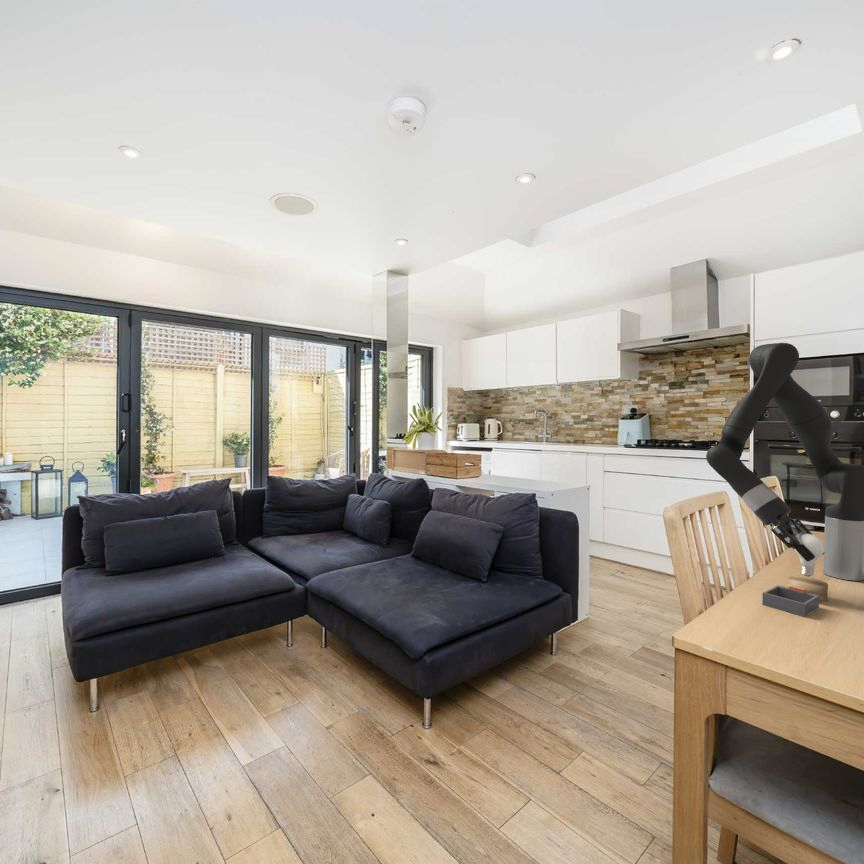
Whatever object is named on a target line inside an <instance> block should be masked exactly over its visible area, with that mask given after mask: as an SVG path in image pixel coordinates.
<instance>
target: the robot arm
mask: <svg viewBox="0 0 864 864" xmlns="http://www.w3.org/2000/svg"><path fill="white" fill-rule="evenodd" d="M799 360H800V353H799V349H797V348H796V346H795V345H794V344H791V343H788V342H776V343H775V342H773V343H765V344H761V345H757V346H756V347H754V348H753V349H752V350H751V352H750V354H749V356H748V362H749V366H750V368H751V370H752V372H753V373H754V375H755V376H756V377H757V381H756V382H755V384H754V385H753V386H752V388H751V389H750V390H749V391H748V392H747V394H745V396H744V397H742V399H741V400H739V402H738V403H737V404H736V405H735V407H734V408H732V410H731V412H730V413H729V415H728V418H727V419H726V421H725V423H724V425H723V427H722V430H721V438H720V440H719V442H718V444H717V445H713V446H711V447H710V448H709V449H708V450H707V452H706V455H705V458H706V462H707V463H708V465H709V466H710V467H711V468H712V469H713V470H714V471H715V472H716V473H717V474H718V475H719V476H720V477H721V478H722V479H724V480H725V482H726V483H728V484H729V486H730V487H731V489H732V490H733V491H734V492H735V493H736V494H737V495H738V496H739V497H740V498H741V499H742V501H743V502H744V503H745V505H746V506H747V507H748V508H749V509H750V511H751V512H752V513H753V514H754V515H755V516H756V517H757V518H758V519H759V520H760V521H761V522H762V523H763V524H764V525H765V526H770V525H773V527H772V528H770V531H771V533H773V534H774V535H775V536H776V537H777V538H778V539H779V540H780V541H781V542H782V543H783V544H784V545H785V546H786V547H787V548H788V549H792V550H794V551H795V550H796V551H797V552H798V553H799V554H800V555H801V556H802V557H803V558H804V559H805V560H806V561H811V560H812V559H814V558H815V555H814V554H813V553H812V552H811V551H810V550H809V549H808V548H807V547H806V546H805V545H803V543H802V541H801V540H800V538H799V537H800V535H802V534H812V535H814V534H813V533H812V532H811V531H810V530H809V529H808V527H806V525H804V523H803V522H802V521H801V520H800V519H799V518H795V519H793V518H792V517H791V516H789V515H788V514H790V513H791V512H792V508H791V507H790V506H789V505H788V504H787V503H786V502H785V501H784V500H783V499H782V498H781V497H780V496H779V495H778V494H777V493H776V492H775V491H774V489H772V488H771V487H770V486H768V485H767V484H766V483H765V482H764V481H763V480H762V479H761V478H760V477H759V476H758V475H757V474H756V473H755V472H753V471H752V470H751V469H749V467H747V466H746V465H745V463H744V462H743V461H742V460H741V457H742V455H743V451H744V449H745V447H746V444H747V441H748V439H749V438H750V436H751V434H752V433H753V431H754V429H755V427H756V425H757V423H758V421H759V419H760V418H761V416H762V414H763V412H764V411H765V410H766V408H767V406H768V405H769V404H770V402H771V401H772V400H774V402H775V404H776V405H777V407H778V408H779V410H780V412H781V414H782V415H783V417H784V418H785V420H786V423H787V424H788V426H789V427H790V429H791V430H792V432H793V434H794V436H795V437H796V438H797V440H798V442H799V444H801V447H802V449H803V450H804V452H805V453H806V455H807V458H808V460H809V462H810V463H811V466H812V468H813V471H814V473H815V474H816V477H817V479H818V481H819V483H820V485H822V487H823V488H824V489H825V490H826V491H828V492H831V493H834V494H839V495H840V497H839V502H837V503H836V504H830V505H828V506H826V507H825V510H824V511H825V513H824V514H825V515H824V534H823V535H824V536H823V543H824V546H825V550H824V553H823V554H822V556H823V559H822V573H823V574H824V575H827V576H829V577H833V578H836V579H841V580H847V581H864V465H862V464H855V463H846V462H842V461H841V460H840V459H839V457H838V456H837V455H836V453H835V451H834V449H833V448H832V445H831V443H832V436H833V429H834V428H833V427H834V426H833V422H832V420H831V418H830V416H829V414H828V413H827V411H826V409H825V408H824V407H823V405H822V404H821V402H819V400H818V399H816V397H815V396H813V395H812V394H811V393H809V392H808V391H807V390H806V389H805V388H804V387H802V386H801V385H800V384H799V383H798V382H797V381H795V380H794V378H793V377H792V375H791V374H792V373H793V372H794V370H795V369H796V367H797V365H798V363H799ZM796 551H795V552H796Z"/></svg>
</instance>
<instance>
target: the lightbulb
mask: <svg viewBox="0 0 864 864" xmlns="http://www.w3.org/2000/svg"><path fill="white" fill-rule="evenodd" d="M812 534H813V533H812ZM812 534H802V535H800V537H799V538H800V540H801V541H802V543H803V545H805V546H806V547H807V548H808V549H809V550H810V551H811V552H812V553H813V554H814V555H815V558H814V559H812V560H811V561H806V560H805V559H804V558H803V557H802V556H801V555H800V554H799V553H798V552H797V551H796V550H795V549H794V551H795V554H797V556H798V558H799V562H800V573H801V574H802V575H803V576H804V577H809V578H810V577H812V576H814V575H815V566H816V565H817V563H818V562H817V561H818V560H819V558H821V557H822V556H823V555H824V554H823V553H824V550H825V546H824V541H823V540H822V539H821V538H820V537H818V536H816V535H814V534H813V535H812ZM822 554H823V555H822Z"/></svg>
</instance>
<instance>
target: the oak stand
mask: <svg viewBox="0 0 864 864" xmlns="http://www.w3.org/2000/svg"><path fill="white" fill-rule="evenodd" d="M789 586H795V587H799V588H803V589H805V592H807V593H811V594H815V595H819V604H820V603H826V602H828V598H829V597H828V596H829V595H828V594H829V593H828V592H829V584H828V583H827V582H826V581H823V580H821V579H818V578H813V577H810V576H809V577H808V576H804V575H803V576H800V575H791V576H788V588H789Z"/></svg>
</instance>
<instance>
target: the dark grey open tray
mask: <svg viewBox="0 0 864 864" xmlns="http://www.w3.org/2000/svg"><path fill="white" fill-rule="evenodd" d="M761 601H762V606H766V607H769V608H773V609H775V610H780V611H783V612H785V613H789V614H793V615H795V616H796V615H797V616H800V617H803V618H805V617H807V616H808V615H810V614H811V613H813V612H815V611H816V610H818V609H819V608H820V603H819V595H815V594H811V593H807V592H805V589H803V588H799V587H795V586H789V588H788V587H786V586H783V585H779V584H777V585H776V586H774V587H772V588H769V589H767V590H765V591H763V592H762V599H761Z"/></svg>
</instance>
